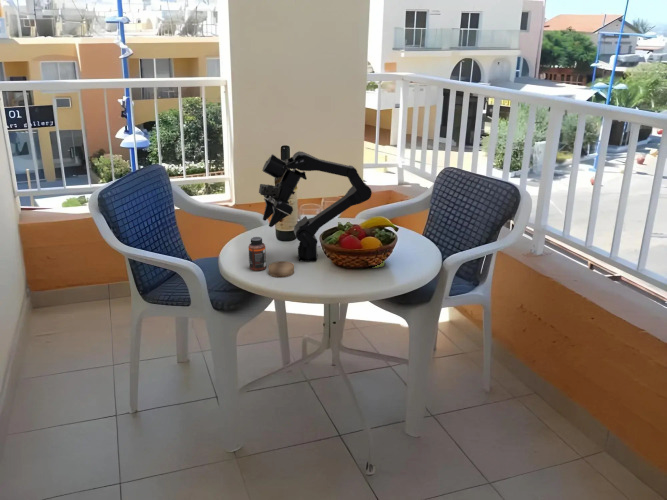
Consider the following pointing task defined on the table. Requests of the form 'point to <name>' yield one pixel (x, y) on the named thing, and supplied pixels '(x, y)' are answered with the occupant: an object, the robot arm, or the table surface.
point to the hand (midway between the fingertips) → (266, 223)
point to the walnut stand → (281, 269)
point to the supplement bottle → (257, 254)
